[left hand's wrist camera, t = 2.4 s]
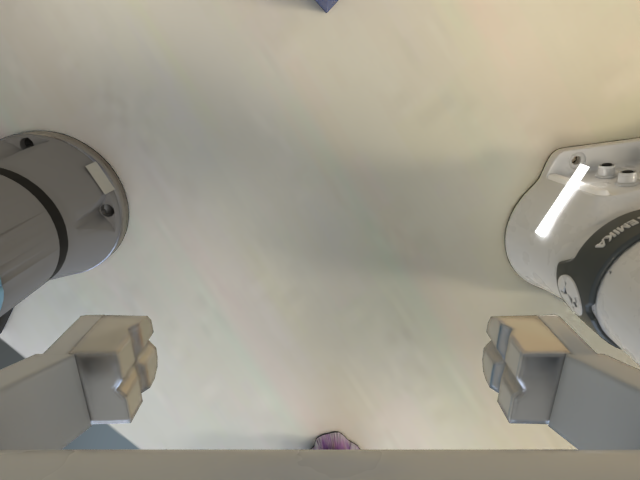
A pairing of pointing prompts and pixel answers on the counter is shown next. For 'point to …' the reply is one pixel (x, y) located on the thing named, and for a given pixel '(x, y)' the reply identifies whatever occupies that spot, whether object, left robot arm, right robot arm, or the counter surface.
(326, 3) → the chest
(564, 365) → the left robot arm
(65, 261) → the right robot arm
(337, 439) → the figurine
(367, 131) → the counter surface
